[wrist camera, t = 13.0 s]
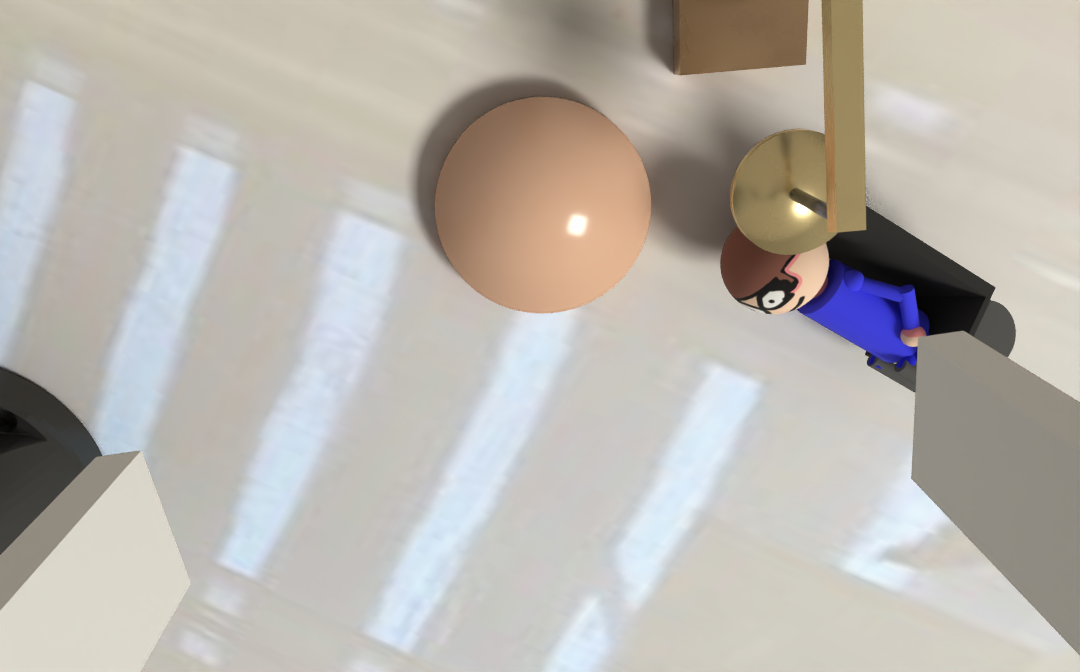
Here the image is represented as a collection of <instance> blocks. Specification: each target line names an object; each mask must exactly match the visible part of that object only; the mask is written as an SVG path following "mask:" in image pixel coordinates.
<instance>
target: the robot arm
mask: <svg viewBox="0 0 1080 672" xmlns="http://www.w3.org/2000/svg"><path fill="white" fill-rule="evenodd" d="M911 479H912V480H913V481H914V482H915V483H916V484H917V485H918V486H919V487H920V488H921V489H922V490H923V491H924V492H925V493H926V494H927V495H928V496H929V498H930V499H931V500H932V501H933V502H934V503H935V504H936V505H937V506H938V507H939V508H940V509H941V510H942V511H943V512H944V513H945V514H946V515H947V516H948V517H949V519H950V520H951V521H952V522H953V523H954V524H955V525H956V526H957V527H958V528H959V529H960V530H961V531H962V532H963V533H964V534H965V535H966V536H967V537H968V538H969V540H970V541H971V542H972V543H973V544H974V545H975V546H976V547H977V548H978V549H979V550H980V551H981V552H982V553H983V554H984V555H985V556H986V557H987V558H988V560H989V561H990V562H991V563H992V564H993V565H994V566H995V567H996V568H997V569H998V570H999V571H1000V572H1001V573H1002V574H1003V575H1004V576H1005V577H1006V578H1007V579H1008V581H1009V582H1010V583H1011V584H1012V585H1013V586H1014V587H1015V588H1016V589H1017V590H1018V591H1019V592H1020V593H1021V594H1022V595H1023V596H1024V597H1025V598H1026V599H1027V600H1028V602H1029V603H1030V604H1031V605H1032V606H1033V607H1034V608H1035V609H1036V610H1037V611H1038V612H1039V613H1040V614H1041V615H1042V616H1043V617H1044V618H1045V619H1046V620H1047V622H1048V623H1049V624H1050V625H1051V626H1052V627H1053V628H1054V629H1055V630H1056V631H1057V632H1058V633H1059V634H1060V635H1061V636H1062V637H1063V638H1064V639H1065V640H1066V641H1067V643H1068V644H1069V645H1070V646H1071V647H1072V648H1073V649H1074V650H1075V651H1076V652H1077V653H1078V654H1079V655H1080V402H1079V401H1077V400H1075V399H1074V398H1072V397H1070V396H1069V395H1067V394H1066V393H1064V392H1062V391H1061V390H1059V389H1057V388H1056V387H1054V386H1053V385H1051V384H1049V383H1048V382H1046V381H1044V380H1043V379H1041V378H1040V377H1038V376H1036V375H1035V374H1033V373H1031V372H1030V371H1028V370H1027V369H1025V368H1023V367H1022V366H1020V365H1018V364H1017V363H1015V362H1014V361H1012V360H1010V359H1009V358H1007V357H1005V356H1004V355H1002V354H1001V353H999V352H997V351H996V350H994V349H992V348H991V347H989V346H988V345H986V344H984V343H983V342H981V341H979V340H978V339H976V338H975V337H973V336H971V335H970V334H968V333H966V332H965V331H958V332H951V333H944V334H937V335H931V336H924V337H918V351H917V372H916V393H915V414H914V434H913V455H912V476H911ZM190 584H191V583H190V580H189V577H188V574H187V572H186V569H185V566H184V564H183V561H182V558H181V556H180V553H179V550H178V548H177V545H176V542H175V540H174V537H173V534H172V532H171V529H170V526H169V523H168V521H167V518H166V515H165V513H164V510H163V507H162V505H161V502H160V499H159V497H158V494H157V491H156V489H155V486H154V483H153V480H152V478H151V475H150V472H149V470H148V467H147V464H146V462H145V459H144V456H143V454H142V451H134V452H127V453H120V454H113V455H106V456H102V454H101V452H100V450H99V448H98V446H97V444H96V443H95V441H94V440H93V438H92V437H91V435H90V434H89V432H88V431H87V430H86V428H85V427H84V426H83V425H82V423H81V422H80V421H79V420H78V419H77V418H76V417H75V416H74V415H73V414H72V413H71V412H70V411H69V410H68V409H67V408H66V407H65V406H64V405H63V404H62V403H60V402H59V401H58V400H57V399H55V398H54V397H53V396H51V395H50V394H48V393H47V392H46V391H44V390H42V389H41V388H39V387H38V386H36V385H34V384H32V383H31V382H29V381H27V380H25V379H23V378H21V377H19V376H17V375H14V374H12V373H9V372H7V371H4V370H1V369H0V672H140V671H141V669H142V668H143V666H144V664H145V662H146V661H147V659H148V657H149V655H150V654H151V652H152V650H153V648H154V647H155V645H156V643H157V641H158V640H159V638H160V636H161V634H162V633H163V631H164V629H165V627H166V626H167V624H168V622H169V620H170V619H171V617H172V615H173V613H174V612H175V610H176V608H177V606H178V605H179V603H180V601H181V599H182V598H183V596H184V594H185V592H186V591H187V589H188V587H189V585H190Z"/></svg>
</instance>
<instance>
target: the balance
mask: <svg viewBox="0 0 1080 672" xmlns="http://www.w3.org/2000/svg"><path fill="white" fill-rule="evenodd" d="M808 1H809V0H673V39H674V74H676V75H689V74H701V73H712V72H724V71H735V70H747V69H759V68H770V67H782V66H794V65H805V64H806V47H807V24H808ZM822 34H823V75H824V115H825V134H822V133H819V132H815V131H812V130H806V129H790V130H784V131H781V132H777V133H775V134H772V135H770V136H768V137H766V138H765V139H763V140H761V141H760V142H759V143H757V144H756V145H755V146H754V147H753V148H752V149H751V150H749V151H748V153H747V154H746V155H745V156H744V158H743V159H742V160H741V162H740V164H739V165H738V167H737V169H736V171H735V174H734V177H733V179H732V183H731V188H730V206H731V212H732V215H733V218H734V220H735V222H736V224H737V226H738V228H739V229H740V231H741V232H742V233H743V234H744V235H745V236H746V237H747V238H748V239H749V240H750V241H751V242H753V243H754V244H755V245H757V246H758V247H760V248H762V249H763V250H766V251H768V252H771V253H775V254H782V255H794V254H801V253H805V252H808V251H811V250H813V249H816V248H818V247H820V246H821V245H823V244H825V243H826V242H827V241H829V240H830V239H831V238H833V237H834V236H835V235H836V234H837V233H838V232H849V231H860V230H866V185H865V126H864V66H863V7H862V0H822Z"/></svg>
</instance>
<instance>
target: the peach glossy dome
mask: <svg viewBox="0 0 1080 672" xmlns="http://www.w3.org/2000/svg"><path fill="white" fill-rule="evenodd" d="M650 217H651V194H650V186H649V182H648V177H647V173H646V171H645V168H644V165H643V163H642V160H641V158H640V157H639V155H638V153H637V151H636V149H635V147H634V146H633V145H632V143H631V142H630V141H629V139H628V138H627V136H626V135H625V134H624V133H623V132H622V131H621V130H620V129H619V128H618V127H617V126H616V125H615V124H613V123H612V122H611V121H610V120H608V119H607V118H606V117H605V116H603V115H602V114H600V113H599V112H597V111H595V110H593V109H592V108H590V107H588V106H585V105H583V104H580V103H578V102H575V101H571V100H568V99H564V98H557V97H529V98H523V99H518V100H514V101H511V102H508V103H505V104H503V105H500V106H498V107H496V108H494V109H492V110H490V111H489V112H487V113H486V114H484V115H482V116H481V117H479V118H478V119H477V120H476V121H475V122H474V123H472V124H471V125H470V126H469V127H468V128H467V129H466V130H465V131H464V132H463V134H462V135H461V136H460V137H459V138H458V140H457V141H456V143H455V144H454V146H453V147H452V149H451V150H450V152H449V154H448V156H447V158H446V160H445V162H444V164H443V166H442V169H441V172H440V175H439V178H438V183H437V188H436V193H435V220H436V225H437V230H438V235H439V238H440V241H441V244H442V247H443V249H444V251H445V253H446V255H447V257H448V259H449V261H450V262H451V264H452V265H453V267H454V268H455V270H456V271H457V272H458V274H459V275H460V276H461V277H462V278H463V279H464V280H465V282H467V283H468V284H469V285H470V286H471V287H472V288H473V289H474V290H476V291H477V292H478V293H480V294H481V295H483V296H484V297H486V298H487V299H489V300H491V301H493V302H495V303H497V304H499V305H502V306H505V307H507V308H510V309H514V310H518V311H523V312H530V313H554V312H561V311H566V310H570V309H574V308H577V307H580V306H582V305H585V304H587V303H589V302H591V301H593V300H595V299H597V298H598V297H600V296H602V295H603V294H605V293H606V292H607V291H609V290H610V289H611V288H613V287H614V286H615V285H616V284H617V283H618V282H619V281H620V280H621V279H622V278H623V277H624V276H625V274H626V273H627V272H628V271H629V269H630V268H631V267H632V265H633V264H634V262H635V260H636V259H637V257H638V256H639V253H640V251H641V249H642V247H643V245H644V242H645V239H646V236H647V232H648V229H649V223H650Z"/></svg>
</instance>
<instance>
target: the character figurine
mask: <svg viewBox="0 0 1080 672" xmlns="http://www.w3.org/2000/svg"><path fill="white" fill-rule="evenodd" d="M829 258H830V259H831V260H829ZM720 264H721V274H722V278H723V281H724V284H725V286H726V288H727V289H728V291H729V292H730V294H731V295H732V296H733V297H734V298H735V299H736V300H737V301H738V302H739V303H740V304H742V305H743V306H745V307H747V308H749V309H751V310H753V311H756V312H760V313H765V314H781V313H786V312H790V311H793V310H795V309H797V310H798V311H799V312H800V313H802V314H804V315H806V316H807V317H809V318H811V319H812V320H814V321H816V322H818V323H819V324H821V325H823V326H824V327H826V328H828V329H830V330H831V331H833V332H835V333H837V334H838V335H840V336H842V337H843V338H845V339H847V340H849V341H850V342H852V343H854V344H855V345H857V346H859V347H861V348H862V349H864V350H866V353H865V355H866V356H868V357H869V358H868V360H867V365H868V366H870V367H871V368H873V369H875V370H877V371H878V372H880V373H882V374H884V375H885V376H887V377H889V378H891V379H892V380H894V381H896V382H898V383H899V384H901V385H903V386H904V387H906V388H908V389H910V390H911V391H913V392H916V372H917V351H918V337H924V336H931V335H937V334H944V333H951V332H958V331H965V332H966V333H968V334H970V335H971V336H973V337H975V338H976V339H978V340H979V341H981V342H983V343H984V344H986V345H988V346H989V347H991V348H992V349H994V350H996V351H997V352H999V353H1001V354H1002V355H1004V356H1005V357H1008V356H1009V354H1010V353H1011V351H1012V349H1013V346H1014V342H1015V336H1016V330H1015V324H1014V320H1013V318H1012V316H1011V314H1010V313H1009V311H1008V310H1007V309H1006V308H1005V307H1004V306H1003V305H1001V304H1000V303H998V302H995V301H991V300H990V298H991V296H992V294H993V292H994V290H995V287H994V286H992V285H991V284H989V283H988V282H986V281H984V280H983V279H981V278H980V277H978V276H976V275H975V274H973V273H972V272H970V271H969V270H967V269H965V268H964V267H962V266H961V265H959V264H957V263H956V262H954V261H953V260H951V259H949V258H948V257H946V256H945V255H943V254H942V253H940V252H938V251H937V250H935V249H934V248H932V247H930V246H929V245H927V244H926V243H924V242H923V241H921V240H919V239H918V238H916V237H915V236H913V235H911V234H910V233H908V232H907V231H905V230H904V229H902V228H900V227H899V226H897V225H896V224H894V223H892V222H891V221H889V220H888V219H886V218H884V217H883V216H881V215H880V214H878V213H877V212H875V211H873V210H872V209H870V208H869V207H867V206H866V230H860V231H849V232H838V233H837V234H836V235H835V236H834V237H833V238H831V239H830V240H829V241H827V242H826V243H825V244H823V245H821V246H820V247H818V248H816V249H813V250H811V251H808V252H805V253H801V254H794V255H782V254H775V253H771V252H768V251H766V250H763V249H762V248H760V247H758V246H757V245H755V244H754V243H753V242H751V241H750V240H749V239H748V238H747V237H746V236H745V235H744V234H743V233H742V232H741V231H740V229H739V228H738V226H737V227H736V228H735V229H734V230H733V231H732V232H731V234H730V235H729V237H728V238H727V240H726V242H725V244H724V247H723V250H722V254H721V262H720ZM896 362H897V363H896ZM894 363H896V364H894Z"/></svg>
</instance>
